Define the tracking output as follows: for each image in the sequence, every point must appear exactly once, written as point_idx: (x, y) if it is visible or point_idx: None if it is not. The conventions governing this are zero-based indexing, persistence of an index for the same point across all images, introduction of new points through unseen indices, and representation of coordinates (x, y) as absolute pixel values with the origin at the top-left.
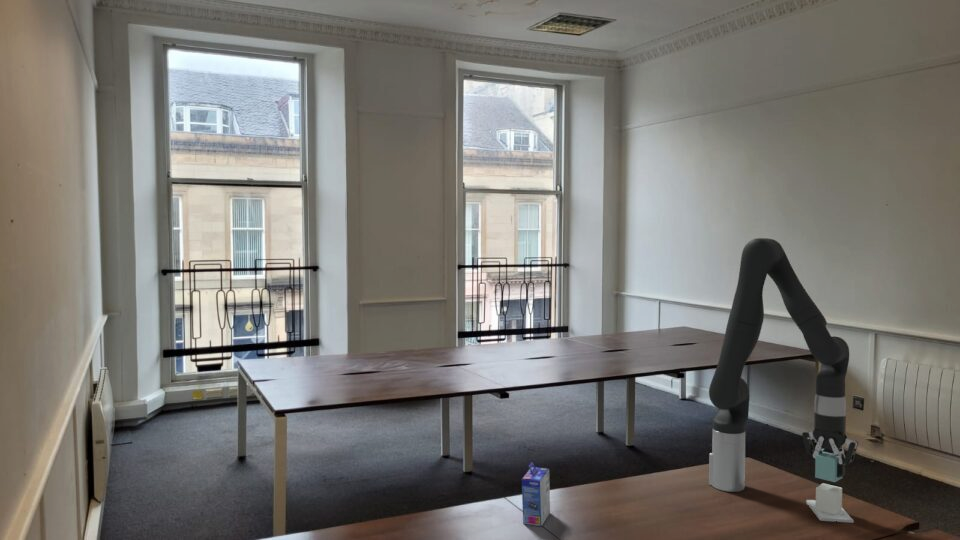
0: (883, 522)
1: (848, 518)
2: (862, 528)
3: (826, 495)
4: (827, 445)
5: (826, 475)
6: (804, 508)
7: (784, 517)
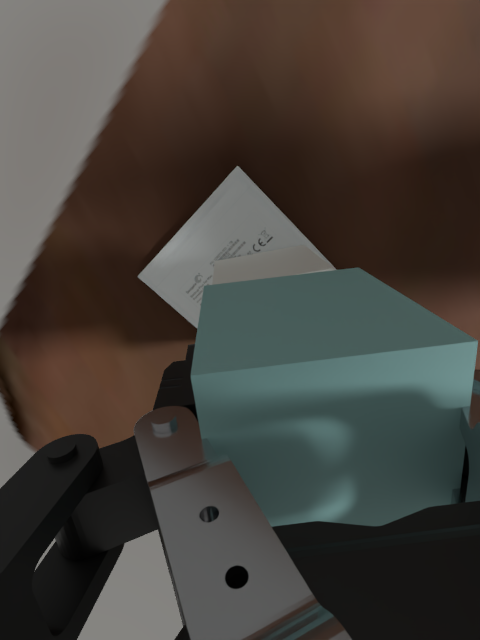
0: (80, 377)
1: (159, 274)
2: (80, 244)
3: (264, 272)
4: (416, 587)
5: (274, 289)
6: (356, 246)
7: (370, 34)
